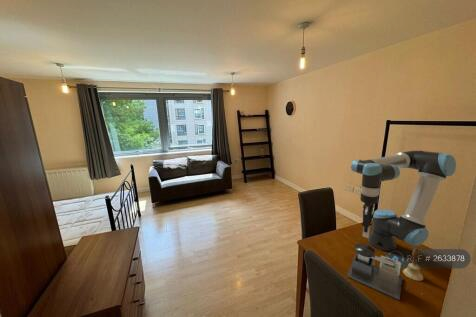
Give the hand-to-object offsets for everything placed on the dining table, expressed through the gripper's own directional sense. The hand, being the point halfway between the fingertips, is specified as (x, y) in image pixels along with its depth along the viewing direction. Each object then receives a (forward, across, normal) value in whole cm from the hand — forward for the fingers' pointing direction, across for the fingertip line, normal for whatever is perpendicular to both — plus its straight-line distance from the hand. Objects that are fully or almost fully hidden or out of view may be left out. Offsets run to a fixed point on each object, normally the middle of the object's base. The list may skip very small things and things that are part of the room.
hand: (365, 236), depth 104 cm
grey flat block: (+11, +1, +11) cm, 15 cm away
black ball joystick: (+16, 0, +4) cm, 17 cm away
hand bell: (+22, -15, +20) cm, 34 cm away
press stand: (+22, 0, +5) cm, 23 cm away
